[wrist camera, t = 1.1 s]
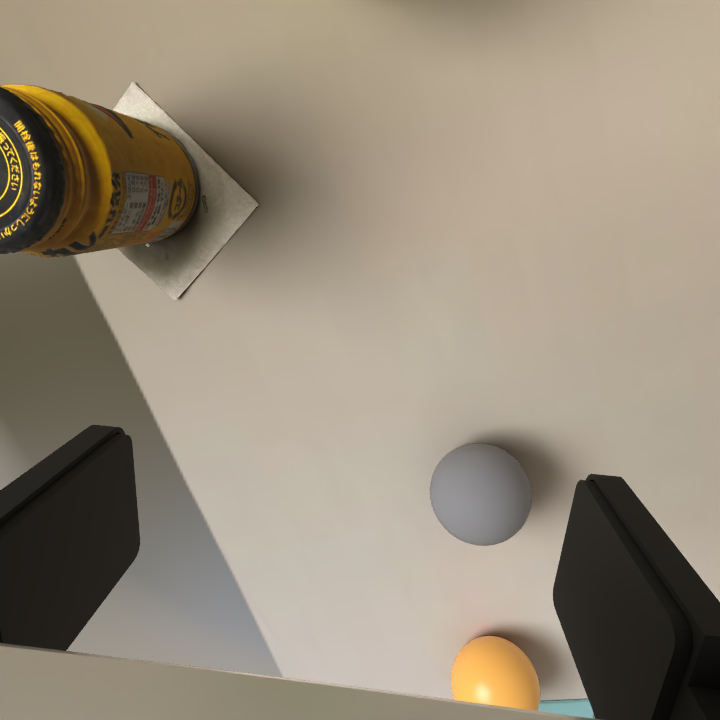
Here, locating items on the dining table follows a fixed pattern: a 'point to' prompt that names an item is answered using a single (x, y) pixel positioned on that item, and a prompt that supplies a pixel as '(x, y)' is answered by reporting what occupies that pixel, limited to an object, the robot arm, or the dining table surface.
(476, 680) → the orange ball
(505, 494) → the gray ball
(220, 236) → the condiment
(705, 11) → the dining table surface
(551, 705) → the teal mark
